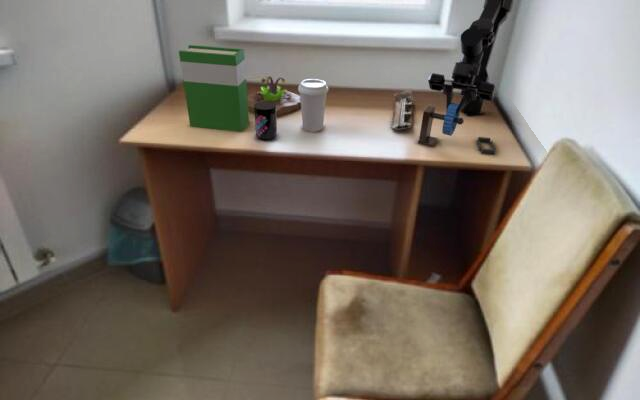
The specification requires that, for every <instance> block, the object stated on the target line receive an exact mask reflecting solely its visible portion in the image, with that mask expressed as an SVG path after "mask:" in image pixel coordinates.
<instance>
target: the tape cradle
mask: <svg viewBox="0 0 640 400" xmlns="http://www.w3.org/2000/svg"><path fill="white" fill-rule="evenodd" d="M481 143H485V144H486V143H487V144H489V145H490V148H483V147H482V144H481ZM476 145H477V148H478V150H479V152H481V154H482V155H494V156H495V154H496V147H495V143H494V142H493V140H491V137H484V136H477V139H476Z"/></svg>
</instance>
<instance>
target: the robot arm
mask: <svg viewBox="0 0 640 400" xmlns="http://www.w3.org/2000/svg"><path fill="white" fill-rule="evenodd" d="M513 7H514V0H484V3H483V9H482V12H481V13H480V16H479V18H478V19H476V20H474V21H473V22H472V23H471V24H470V26H469V27H468V28H467V29H465V30H464V31H463V32H462V33H461V34H460V52H461V57H460V60H459V62H458V61H457V62H454V65H453V68H452V71H451V79H448V78H446V77H445V75H444V74H441V73H435V72H432V73H431V74H430V75H429V77H428V79H427V80H428V81H427V82H428V87H429V89H430V90H432V91H436V92H441V91H442V94H443V95H445V96H446V105H445V106H446V108H445V109H446V110H445V111H446V112H447V109H448V107H449V105H450V104H451V103H453V102H452V101H453V98H454V89H455V90H460V91H461V92H460V95H461V96H462V97H461V100H460V101H459V103H458V104H459V106H458V108H457V111H456V114H458V113H459V112H460V113H463V114H464V115H466V116H467V117H471V116H480V115H483V114H484V112H483V111H482V108H483V102H484V101H488V102H492V101H493V99H494V97H495V93H496V85H495V84H494V83H491V82H490V81H489V79H490V76H489V72H488V67H489V64H490V60H491V57H492V53H493V50H494V46H495V43H496V40H497V37H498V33H499V29H500V27H501V26H502V24H503V23H504V22H505V21H506V20H507V19H508V18H509V17H508V16H509V13H512V11H513ZM446 112H445V113H446Z"/></svg>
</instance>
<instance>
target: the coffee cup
mask: <svg viewBox="0 0 640 400" xmlns="http://www.w3.org/2000/svg"><path fill="white" fill-rule="evenodd" d="M297 91H298V92H299V95H300V101H301V109H300V111H301V121H302V129H303V130H304V131H305V132H310V133H314V132H315V133H316V132H320V131H322V130H323V128H324V119H325V111H326V102H327V95H328V94H327V93H328V92H329V91H330V89H329V87H328V85H327V82H326V81H325V80H323V79H318V78H307V79H303V80H302V81H300V84H299V85H298V87H297Z"/></svg>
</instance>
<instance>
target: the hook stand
mask: <svg viewBox="0 0 640 400" xmlns="http://www.w3.org/2000/svg"><path fill="white" fill-rule="evenodd" d="M435 109H436V107H435V106H431V105H428V106H427V107H426V108H425V109H424V110H423V113H422V118H421V125H420V131H419V138H418V141H417V144H418V145H421V146H426V147H431V148H433V147H434V146H435V144H436V143H437V141H438V139H439V138H438V137H434V136H431V133H432V127H433V122H434V119H435V120H441V121H444V118H445V115H446V114H443V113H438V112H435ZM453 122H454V123H457V125H463V124H464V122H465V120H464V118H463V117H459V118H457V117H454V119H453Z"/></svg>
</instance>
